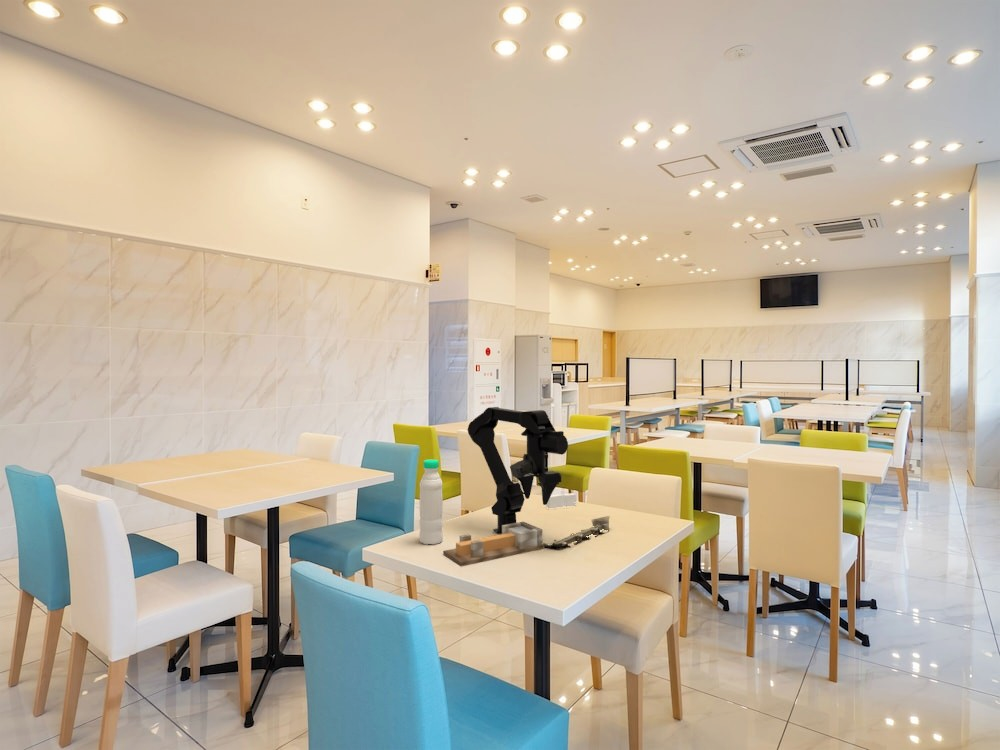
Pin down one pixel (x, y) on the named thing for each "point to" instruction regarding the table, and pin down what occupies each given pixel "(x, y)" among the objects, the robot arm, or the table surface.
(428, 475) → the water bottle
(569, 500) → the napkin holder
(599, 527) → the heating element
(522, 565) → the table surface
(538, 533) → the cable board
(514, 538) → the tan bar grey block
